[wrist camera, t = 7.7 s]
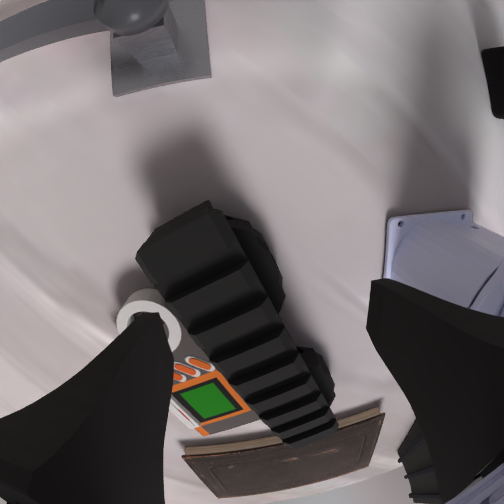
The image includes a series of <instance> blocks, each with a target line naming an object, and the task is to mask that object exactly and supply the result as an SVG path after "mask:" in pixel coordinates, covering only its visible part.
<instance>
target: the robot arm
mask: <svg viewBox="0 0 504 504" xmlns="http://www.w3.org/2000/svg"><path fill="white" fill-rule="evenodd" d="M461 216H462V217H461ZM399 221H401V224H400V225H399V226H398V223H399ZM366 329H367V332H368V334H369V336H370V338H371V340H372V343H373V345H374V347H375V349H376V351H377V352H378V354H379V355H380V357H381V358H382V360H383V362H384V363H385V365H386V366H387V368H388V369H389V371H390V372H391V374H392V375H393V377H394V378H395V380H396V381H397V383H398V385H399V386H400V388H401V389H402V391H403V392H404V394H405V396H406V398H407V399H408V401H409V403H410V405H411V407H412V409H413V411H414V414H415V416H416V418H417V420H418V423H419V425H420V428H421V430H422V433H423V436H424V438H425V441H426V444H427V447H428V450H429V453H430V456H431V460H432V463H433V467H434V471H435V476H436V480H437V485H438V491H439V497H440V499H441V501H442V503H443V504H479V503H480V504H504V237H503V236H501V235H499V234H496V233H494V232H492V231H490V230H488V229H486V228H484V227H482V226H480V225H478V224H475V223H473V212H472V211H471V210H469V209H467V210H456V211H446V212H435V213H425V214H415V215H405V216H396V217H391V218H390V219H389V220H388V223H387V239H386V254H385V266H384V276H383V279H378V280H373V281H371V291H370V300H369V309H368V317H367V325H366ZM173 377H174V357H173V354H172V351H171V348H170V345H169V342H168V339H167V336H166V333H165V330H164V327H163V324H162V321H161V317H160V314H159V312H154V313H143V314H141V315H140V316H138V317H137V318H136V319H135V320H134V321H133V322H132V323H131V324H130V325H129V326H128V327H127V328H126V329H125V330H124V331H123V332H122V333H121V334H120V335H119V336H118V337H117V338H116V339H115V340H114V341H112V342H111V343H110V344H109V345H108V346H107V347H106V348H105V349H104V350H103V351H102V352H101V353H100V354H99V355H98V356H96V357H95V358H94V359H93V360H92V361H91V362H90V363H89V364H88V365H87V366H85V367H84V368H83V369H82V370H81V371H79V372H78V373H77V374H76V375H74V376H73V377H72V378H70V379H69V380H68V381H66V382H65V383H64V384H62V385H61V386H60V387H58V388H57V389H55V390H53V391H52V392H50V393H49V394H47V395H45V396H44V397H42V398H41V399H39V400H37V401H36V402H34V403H32V404H30V405H28V406H26V407H24V408H23V409H21V410H18V411H16V412H14V413H12V414H10V415H7V416H5V417H3V418H0V497H1V498H2V499H4V500H5V501H6V502H7V504H165V499H164V480H163V448H164V437H165V431H166V425H167V418H168V412H169V406H170V400H171V394H172V388H173Z"/></svg>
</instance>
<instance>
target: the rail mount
mask: <svg viewBox="0 0 504 504" xmlns="http://www.w3.org/2000/svg"><path fill="white" fill-rule="evenodd" d="M135 259H136V261H137V262H138V264H139V265H140V267H141V268H142V270H143V271H144V273H145V274H146V276H147V277H148V279H149V280H150V282H151V283H152V284H154V285H155V287H156V288H157V290H158V291H159V293H160V294H161V296H162V297H163V298H164V300H165V303H166V305H167V306H168V307H169V309H170V310H171V312H172V313H173V314H174V316H175V317H176V318H178V319H179V321H180V322H181V323H182V325H183V326H184V327H185V329H186V330H187V331H188V334H189V336H190V337H191V338H192V339H193V341H194V342H195V343H196V345H197V346H198V347H200V348H201V349H202V351H203V352H204V353H205V354H206V356H207V357H208V358H209V361H210V362H211V363H212V365H213V366H214V367H215V368H216V369H217V371H218V372H220V373H221V374H222V375H223V376H224V377H225V379H226V380H227V381H228V384H229V385H230V386H231V387H232V388H233V389H234V390H235V392H236V393H238V394H239V395H240V396H241V397H242V398H243V399H244V400H245V403H246V404H247V405H248V406H249V407H250V408H251V409H252V410H253V411H255V413H256V414H257V415H258V416H259V418H260V419H261V420H262V421H263V422H264V423H265V424H266V425H268V426H269V427H270V429H271V431H272V432H273V433H274V434H275V435H276V436H278V437H279V438H280V439H281V440H282V442H283V443H284V444H285V445H286V446H288V447H290V448H292V449H294V450H295V449H297V448H300V447H303V446H306V445H308V444H311V443H314V442H316V441H319V440H321V439H324V438H326V437H328V436H331V435H333V434H335V433H336V432H337V429H338V427H339V423H338V421H337V420H336V418H335V416H334V414H333V413H332V411H331V409H330V406H331V404H332V402H333V400H334V398H335V396H336V395H335V393H334V386H335V384H334V382H333V379H332V377H331V375H330V373H329V370H328V368H327V366H326V365H325V362H324V360H323V358H322V356H321V355H319V354H317V353H315V351H314V349H313V348H304V347H296V346H295V344H294V342H293V341H292V339H291V337H290V335H289V333H288V332H287V330H286V328H285V326H284V324H283V322H282V321H281V319H280V317H279V312H280V310H281V307H282V304H283V302H284V299H285V293H284V291H283V288H282V275H281V273H280V271H279V268H278V266H277V264H276V262H275V260H274V258H273V256H272V254H271V253H270V251H269V248H268V246H267V244H266V242H265V240H264V238H263V236H262V235H261V234H260V233H259V232H258V231H256V230H255V229H254V228H252V226H251V225H250V223H249V221H246V220H241V219H237V218H233V217H229V216H224V214H223V212H222V211H219V210H216V209H213V207H212V205H211V203H210V201H209V200H207V201H205V202H204V203H202V204H200V205H198V206H196V207H194V208H192V209H191V210H189V211H187V212H185V213H183V214H181V215H180V216H178V217H176V218H174V219H172V220H171V221H169V222H167V223H165V224H164V225H162V226H160V227H158V228H157V229H155V231H154V232H153V233H152V234H151V235H150V237H149V238H148V239H147V241H146V242H145V243H144V244H143V245H142V246H141V247H140V249H139V250H138V251H137V254H136V258H135Z"/></svg>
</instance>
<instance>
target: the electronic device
mask: <svg viewBox="0 0 504 504" xmlns="http://www.w3.org/2000/svg"><path fill="white" fill-rule="evenodd" d="M141 311H145V312H151V313H154V312H159V314H160V317H161V321H162V324H163V327H164V330H165V333H166V336H167V339H168V342H169V345H170V348H171V351H172V354H173V357H174V377H173V388H172V394H171V400H170V406H169V410H170V411H171V412H172V413H173V414H174V415H176V416H177V417H178V418H179V419H180V420H181V421H182V422H183V423H184V424H185V425H186V426H187V427H189V428H190V429H193V428H195V429H196V430H197V431H198V432H199V433H200V434H201V435H203V436H207V435H211V434H214V433H218V432H221V431H225V430H228V429H232V428H235V427H238V426H241V425H245V424H248V423H251V422H254V421H257V420H260V418H259V416H258V415H257V414H256V413H255V411H253V410H252V409H251V408H250V407H249V406H248V405H247V404H246V403H245V400H244V399H243V398H242V397H241V396H240V395H239V394H238V393H236V392H235V390H234V389H233V388H232V387H231V386H230V385H229V384H228V381H227V380H226V379H225V377H224V376H223V375H222V374H221V373H220V372H218V371H217V369H216V368H215V367H214V366H213V365H212V363H211V362H210V361H209V358H208V357H207V356H206V354H205V353H204V352H203V351H202V349H201V348H200V347H198V346H197V345H196V343H195V342H194V341H193V339H192V338H191V337H190V336H189V334H188V331H187V330H186V329H185V327H184V326H183V325H182V323H181V322H180V321H179V319H178V318H176V317H175V316H174V314H173V313H172V312H171V310H170V309H169V307H168V306H167V305H166V303H165V300H164V298H163V297H162V296H161V294H160V293H159V291H158V290H157V289H152V288H146V289H140V290H138V291H136V292H134V293H133V294H131V295H130V296H129V297H128V299H127V300H126V302H125V303H124V305H123V307H122V308H121V310H120V312H119V314H118V316H117V330H118V333H119V335H120V334H121V333H122V332H123V331H124V330H125V329H126V328H127V327H128V326H129V325H130V324H131V323H132V322H133V321H134V320H135V319H134V313H137V312H141ZM165 323H166V324H165Z"/></svg>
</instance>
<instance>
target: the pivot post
mask: <svg viewBox="0 0 504 504" xmlns="http://www.w3.org/2000/svg"><path fill="white" fill-rule="evenodd" d="M111 73H112V90H113V96H115V97H118V96H122V95H125V94H129V93H133V92H137V91H141V90H145V89H150V88H154V87H159V86H164V85H169V84H174V83H179V82H185V81H191V80H198V79H204V78H212V77H211V68H210V58H209V48H208V37H207V27H206V16H205V5H204V0H171V1H169V4H168V9H167V11H166V13H165V15H164V16H163V18H162V19H161V20H160V21H159V22H158V23H157V24H156V25H155V26H153V27H152V28H150V29H149V30H147V31H145V32H142V33H140V34H137V35H132V36H121V35H117V34H114V33H113V32H111Z"/></svg>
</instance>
